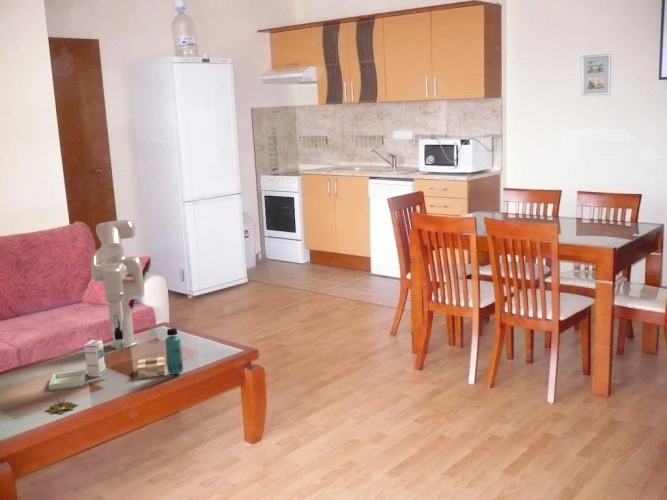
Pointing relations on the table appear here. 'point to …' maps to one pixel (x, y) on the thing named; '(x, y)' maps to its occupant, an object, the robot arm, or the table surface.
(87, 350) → the syrup box
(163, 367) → the bore block
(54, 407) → the lily flower
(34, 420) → the table surface
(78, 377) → the tray
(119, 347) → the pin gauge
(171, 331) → the beverage bottle
